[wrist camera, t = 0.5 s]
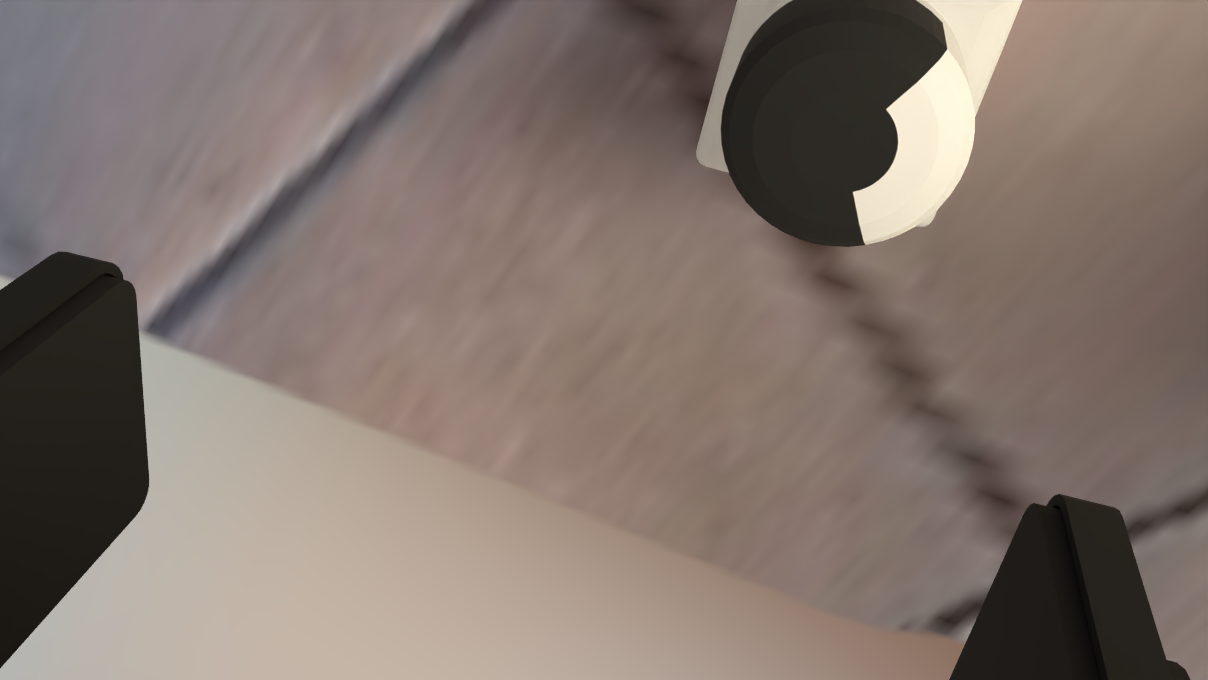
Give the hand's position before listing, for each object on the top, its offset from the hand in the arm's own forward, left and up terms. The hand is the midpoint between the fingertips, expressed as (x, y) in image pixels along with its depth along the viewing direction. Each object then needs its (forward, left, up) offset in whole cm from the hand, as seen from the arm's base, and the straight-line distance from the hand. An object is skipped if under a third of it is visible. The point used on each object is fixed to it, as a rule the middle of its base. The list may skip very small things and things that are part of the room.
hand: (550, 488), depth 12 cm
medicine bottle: (-2, +3, -29) cm, 30 cm away
